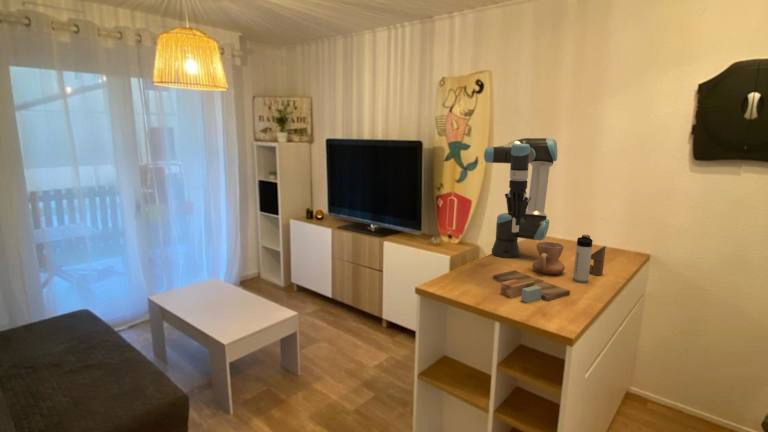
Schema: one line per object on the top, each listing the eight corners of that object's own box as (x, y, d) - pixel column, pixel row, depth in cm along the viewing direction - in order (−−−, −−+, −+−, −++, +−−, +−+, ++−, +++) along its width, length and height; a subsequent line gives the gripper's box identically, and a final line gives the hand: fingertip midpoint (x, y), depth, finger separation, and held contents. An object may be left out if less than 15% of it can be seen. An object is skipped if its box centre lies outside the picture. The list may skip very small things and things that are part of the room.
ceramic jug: (539, 264, 209) (541, 238, 206) (569, 270, 199) (571, 242, 196) (525, 274, 196) (527, 245, 193) (556, 280, 186) (558, 251, 183)
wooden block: (599, 276, 192) (604, 239, 189) (576, 270, 200) (580, 235, 197) (602, 274, 195) (606, 238, 191) (579, 269, 203) (583, 234, 199)
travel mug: (587, 278, 188) (591, 237, 185) (589, 283, 182) (593, 240, 178) (572, 277, 190) (576, 235, 187) (573, 281, 184) (578, 239, 180)
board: (492, 278, 188) (493, 274, 187) (514, 273, 195) (514, 270, 194) (547, 301, 162) (547, 296, 162) (569, 294, 169) (570, 290, 169)
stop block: (521, 300, 163) (522, 288, 162) (534, 296, 167) (535, 285, 166) (527, 303, 160) (528, 291, 159) (541, 299, 164) (542, 287, 163)
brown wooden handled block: (500, 293, 170) (501, 282, 169) (527, 287, 178) (528, 276, 177) (511, 298, 165) (512, 286, 164) (538, 291, 173) (539, 280, 172)
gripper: (501, 178, 181) (498, 229, 187) (524, 182, 170) (520, 236, 176) (513, 177, 185) (510, 227, 190) (536, 180, 174) (532, 233, 179)
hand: (515, 231), depth 183 cm, fingers closed
